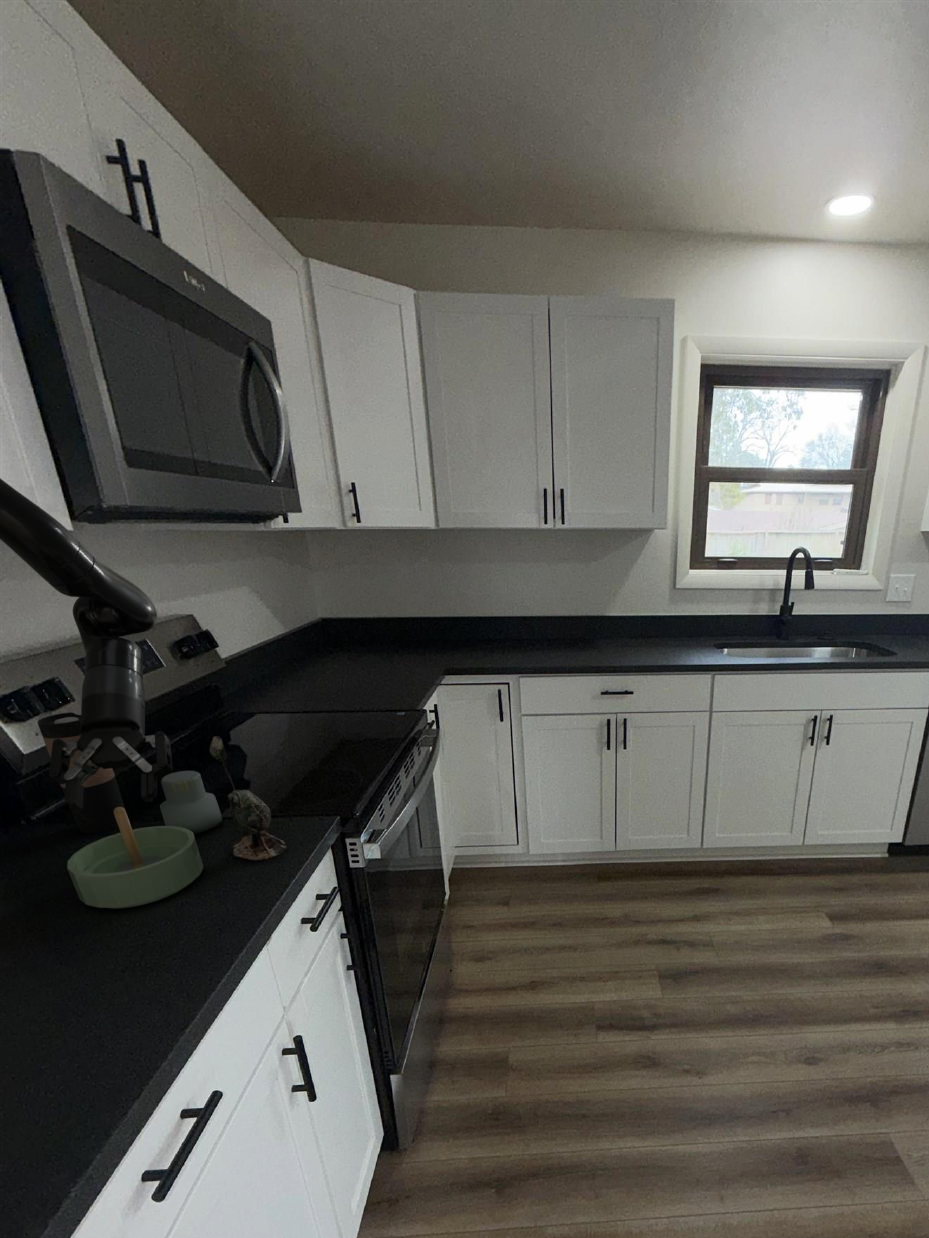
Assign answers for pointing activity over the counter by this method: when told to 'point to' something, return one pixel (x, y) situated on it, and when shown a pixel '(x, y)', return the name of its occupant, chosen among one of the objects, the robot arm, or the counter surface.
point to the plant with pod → (249, 818)
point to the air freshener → (188, 802)
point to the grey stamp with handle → (131, 844)
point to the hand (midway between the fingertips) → (112, 803)
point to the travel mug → (97, 788)
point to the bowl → (140, 884)
